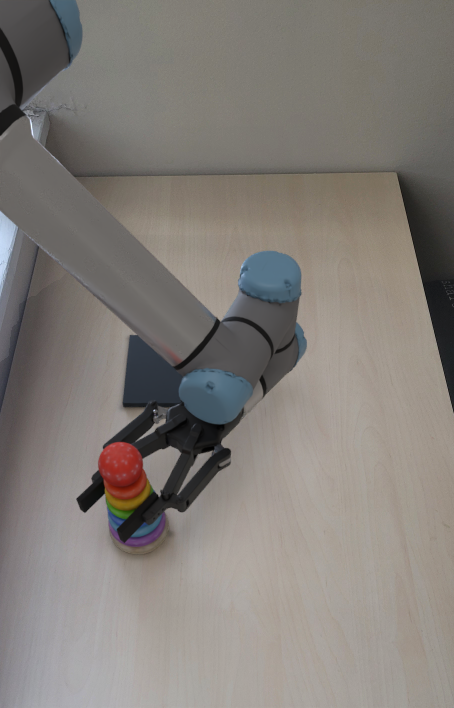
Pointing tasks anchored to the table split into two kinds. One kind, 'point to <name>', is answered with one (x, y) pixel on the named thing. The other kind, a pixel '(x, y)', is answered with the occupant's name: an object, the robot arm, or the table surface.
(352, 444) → the table surface
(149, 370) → the mat
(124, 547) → the stacking toy
